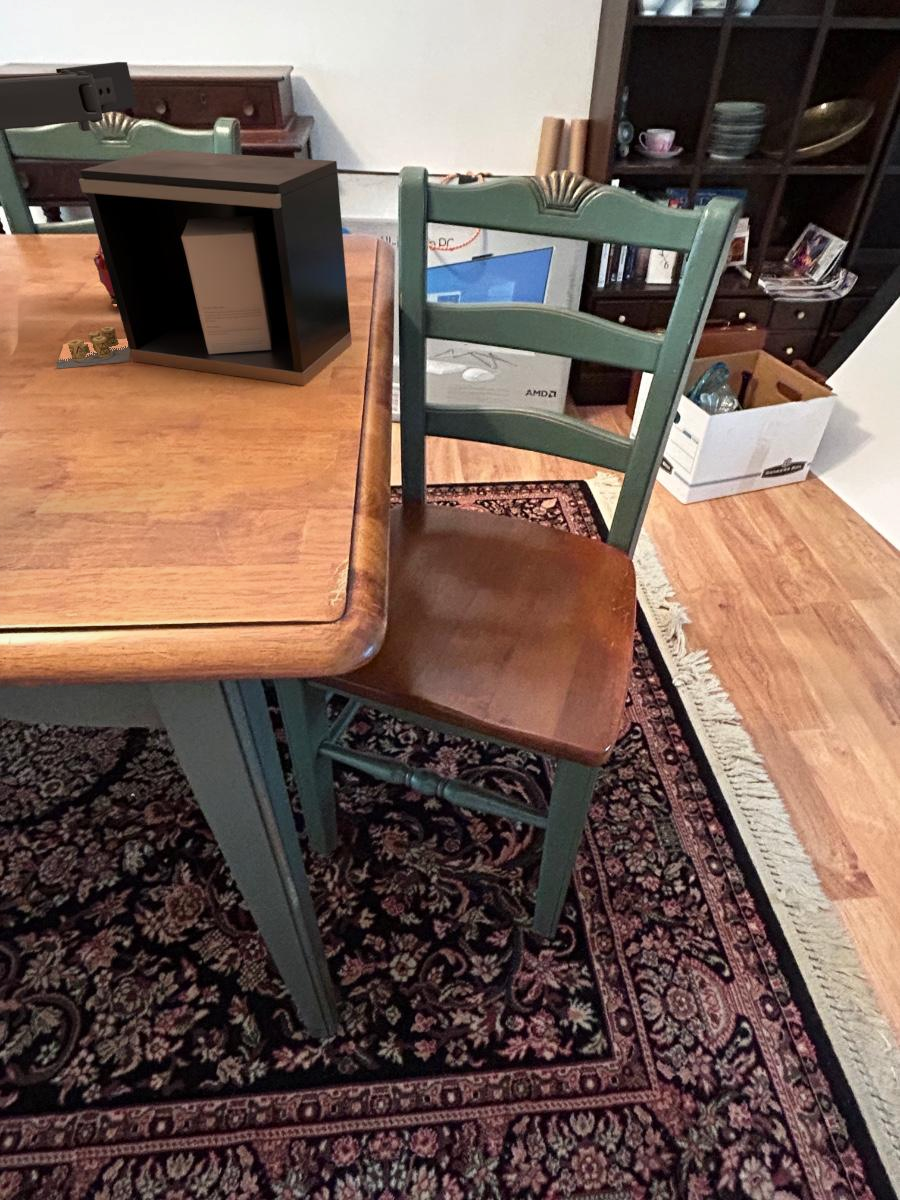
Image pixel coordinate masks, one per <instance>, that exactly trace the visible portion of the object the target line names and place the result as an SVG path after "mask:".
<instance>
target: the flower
mask: <svg viewBox="0 0 900 1200" xmlns="http://www.w3.org/2000/svg"><path fill="white" fill-rule="evenodd" d="M92 259H93V262H94V265H95V267H96V270H97V271H98V277H99V282H100V283H101V284H102V285H103V286H104V287H105V289H106V292H108V295H109V298H110V299H111V302H110V303H111V305H112V304H117V302H116V298H115V295H114V291H113V288H112V284H111V281H110V277H109V273H108V270H107V266H106V263H105V259H104V256H103V252H102V248H101V245H100V242H99V243H98V250H97V251H96V252H95V256H94V257H93V258H92Z"/></svg>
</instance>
